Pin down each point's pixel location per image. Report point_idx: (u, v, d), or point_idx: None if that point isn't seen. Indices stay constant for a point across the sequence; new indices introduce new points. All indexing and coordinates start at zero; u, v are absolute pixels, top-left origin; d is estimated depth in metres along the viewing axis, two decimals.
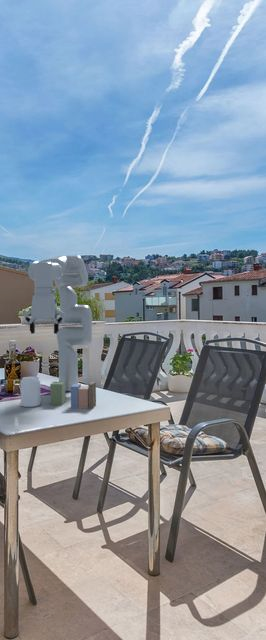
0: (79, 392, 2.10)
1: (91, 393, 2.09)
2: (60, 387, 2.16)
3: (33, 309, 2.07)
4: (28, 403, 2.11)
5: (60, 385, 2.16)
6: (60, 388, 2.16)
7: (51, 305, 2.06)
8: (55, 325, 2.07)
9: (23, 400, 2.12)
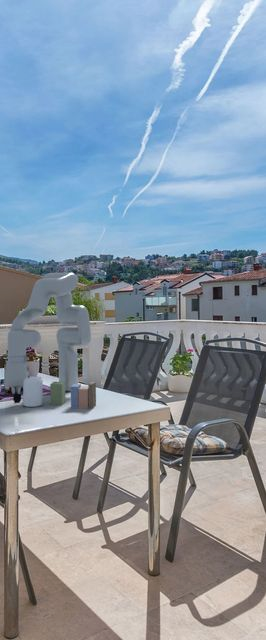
0: (79, 392, 2.10)
1: (91, 393, 2.09)
2: (60, 387, 2.16)
3: (6, 377, 2.13)
4: (30, 403, 2.11)
5: (60, 385, 2.16)
6: (60, 388, 2.16)
7: (23, 373, 2.13)
8: (17, 395, 2.14)
9: (25, 400, 2.12)
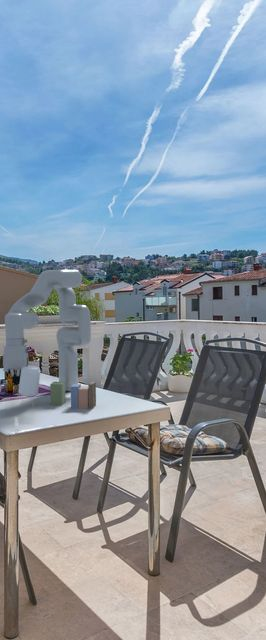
0: (79, 392, 2.10)
1: (91, 393, 2.09)
2: (60, 387, 2.16)
3: (5, 359, 2.14)
4: (25, 392, 2.12)
5: (60, 385, 2.16)
6: (60, 388, 2.16)
7: (22, 356, 2.13)
8: (16, 377, 2.15)
9: (21, 388, 2.12)
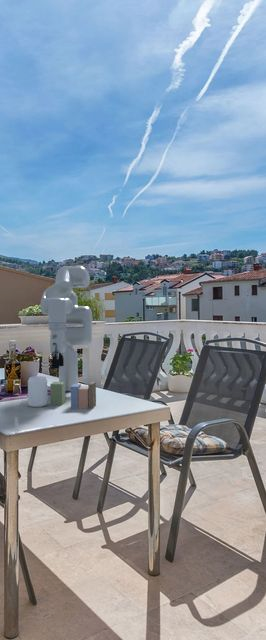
0: (79, 392, 2.10)
1: (91, 393, 2.09)
2: (60, 387, 2.16)
3: None
4: (28, 402, 2.14)
5: (60, 385, 2.16)
6: (60, 388, 2.16)
7: (50, 340, 2.15)
8: None
9: None
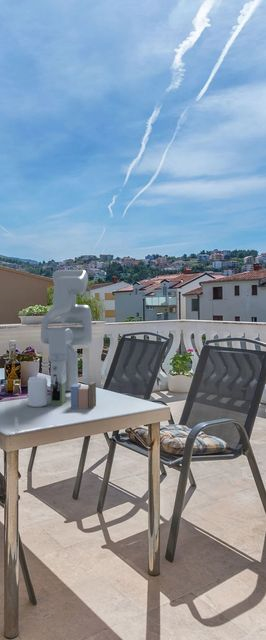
0: (79, 392, 2.10)
1: (91, 393, 2.09)
2: (60, 387, 2.16)
3: None
4: (28, 402, 2.14)
5: (60, 385, 2.16)
6: (60, 388, 2.16)
7: None
8: (52, 392, 2.16)
9: None
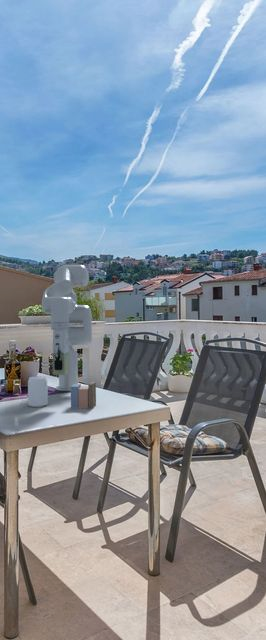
0: (79, 392, 2.10)
1: (91, 393, 2.09)
2: (63, 356, 2.10)
3: None
4: (28, 402, 2.14)
5: (63, 354, 2.10)
6: (63, 357, 2.10)
7: None
8: (54, 361, 2.10)
9: None
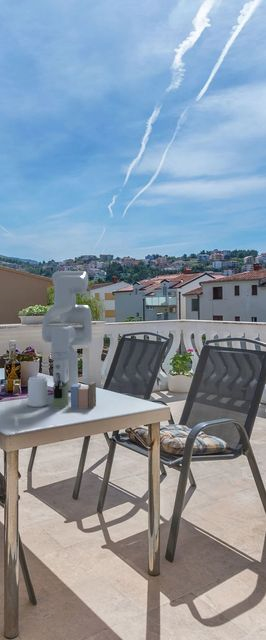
0: (79, 392, 2.10)
1: (91, 393, 2.09)
2: (63, 389, 2.11)
3: None
4: (28, 402, 2.14)
5: (63, 387, 2.11)
6: (63, 390, 2.11)
7: (53, 370, 2.10)
8: (54, 390, 2.09)
9: None
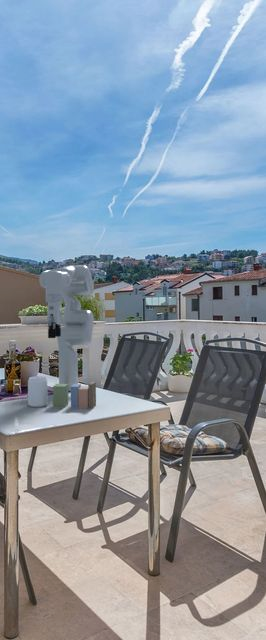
0: (79, 392, 2.10)
1: (91, 393, 2.09)
2: (63, 389, 2.11)
3: None
4: (28, 402, 2.14)
5: (63, 387, 2.11)
6: (63, 390, 2.11)
7: (47, 311, 2.22)
8: (48, 330, 2.21)
9: None
